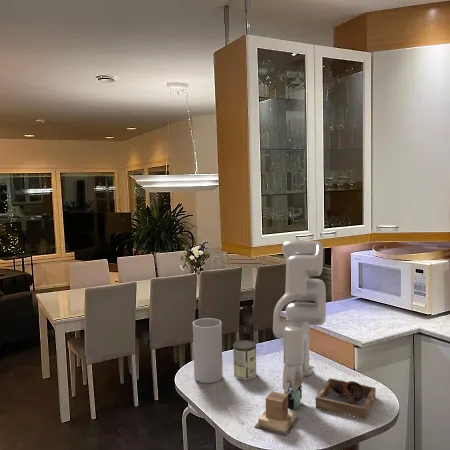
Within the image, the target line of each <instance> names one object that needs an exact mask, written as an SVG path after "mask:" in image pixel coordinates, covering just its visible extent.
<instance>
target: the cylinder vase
mask: <svg viewBox="0 0 450 450" xmlns="http://www.w3.org/2000/svg"><path fill="white" fill-rule="evenodd" d="M222 332H223V330H222V321H221V320H220V319H217V318H211V317H208V318H207V317H205V318H204V317H203V318H199V319H195V320H194V321H192V337H193V338H192V342H193V346H192V347H193V348H192V349H193V373H194V374H193V375H194V376H193V377H194V379H195V381H196V382H198V383H202V384H214V383H217V382H219V381H220V380H222V379H223V374H224V373H223V372H224V371H223V342H222V341H223V335H222V334H223V333H222Z"/></svg>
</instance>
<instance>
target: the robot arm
mask: <svg viewBox="0 0 450 450" xmlns="http://www.w3.org/2000/svg"><path fill="white" fill-rule="evenodd" d="M281 248H282V249H281V250H282V253H283V257H284V259H285V262H286V263H285V289H284V290H285V293H284V294H283V295H282V296H281V297H280V299H278V301H277V303H276V305H275V307H274V310H273V315H272V316H273V317H272V318H273V320H272V321H273V322H272V332H273V336H274V337H275V338H277V339H280V340H281V339H283V364H284V365H283V371H282V390H283V394H287V395H288V409H289V408H290V409H289V410H293V409H294V398H293V395H294V392H295V391H296V390H297V389H299V390H300V400H301V399H303V396H302V395H303V394H302V393H303V391H302V390H303V389H302V388H303V385H302V383H303V381H304V380H303V379H304V378H306V377H309V376H310V375H312V374H313V373H314V371H313V370H314V369H313V368H312V366H310V359H311V358H310V335H311V334H310V333H311V327H310V326H322V325H324V324H325V323H326V319H327V318H326V317H327V314H326V311H327V306H326V305H327V304H326V302H327V300H326V299H327V296H326V295H327V292H326V291H327V290H326V283H325V281H323V280H322V279H319V278H310V277H319V276H321V274H322V272H323V267H324V266H323V265H324V245H323V243H322V242H321V241H318V240H287V241H284V242H283V244H282V246H281ZM295 300H299V301H313V303H312V302H298V301H297V302H295ZM293 301H294V302H293ZM314 302H315V303H314ZM285 306H286V308H285V317H286V318H285V319H284V318H281V314H282V311H283V309H284V307H285ZM290 388H291V389H292V390H289V389H290ZM289 392H292V393H291V395H290V394H289Z"/></svg>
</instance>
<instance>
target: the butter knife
mask: <svg viewBox="0 0 450 450" xmlns="http://www.w3.org/2000/svg"><path fill="white" fill-rule="evenodd" d="M227 408H228V410H229V411H230V412H231V414H232V415H233V417H234V418H235V420H236V421H237V422H238V423H239V424H240V425H244V424H245V420H243V418H242V417H241V416H240V415H239V414H238V413H237V412H236V411H235V410H234V409H233V408H232V407H231V406H228V407H227Z"/></svg>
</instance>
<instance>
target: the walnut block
mask: <svg viewBox="0 0 450 450" xmlns="http://www.w3.org/2000/svg"><path fill="white" fill-rule="evenodd" d="M288 410H289V408H288V395H287V394H284V392H283V393H282V392H277V391H273V390H272V391H271V392H270V393H269V394H268V395H267V396H266V397H265V411H266V417H267V418H271V419H274V420H278V421H282V420H283V419H284V418H285V417H286V415H287V414H288Z"/></svg>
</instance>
